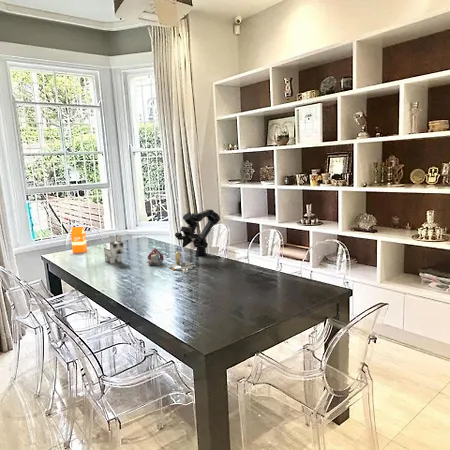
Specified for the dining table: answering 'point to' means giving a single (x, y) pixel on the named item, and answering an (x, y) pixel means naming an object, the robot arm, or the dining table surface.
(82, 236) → the orange juice
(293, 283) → the dining table surface
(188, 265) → the sprocket
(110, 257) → the toy llama
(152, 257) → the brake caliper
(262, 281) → the dining table surface
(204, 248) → the robot arm
